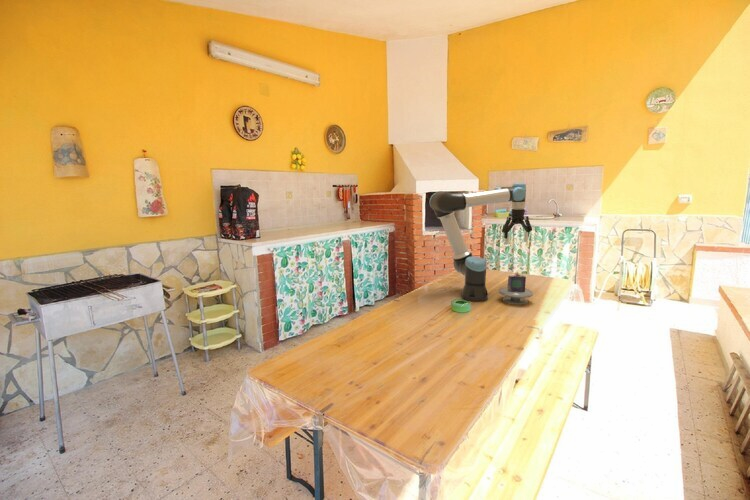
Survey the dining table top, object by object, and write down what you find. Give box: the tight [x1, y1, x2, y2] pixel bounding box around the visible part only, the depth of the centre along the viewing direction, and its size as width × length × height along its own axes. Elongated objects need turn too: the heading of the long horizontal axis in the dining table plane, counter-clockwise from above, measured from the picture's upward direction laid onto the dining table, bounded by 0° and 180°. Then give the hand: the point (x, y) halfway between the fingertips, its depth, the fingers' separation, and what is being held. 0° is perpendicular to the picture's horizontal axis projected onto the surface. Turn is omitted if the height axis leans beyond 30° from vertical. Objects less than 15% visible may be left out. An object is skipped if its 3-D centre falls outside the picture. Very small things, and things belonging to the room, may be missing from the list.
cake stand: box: [498, 286, 534, 306], centre depth 201 cm, size 18×18×6 cm
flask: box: [507, 272, 527, 292], centre depth 200 cm, size 9×3×11 cm, turn 77°
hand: (516, 242), depth 222 cm, fingers open, 13 cm apart
